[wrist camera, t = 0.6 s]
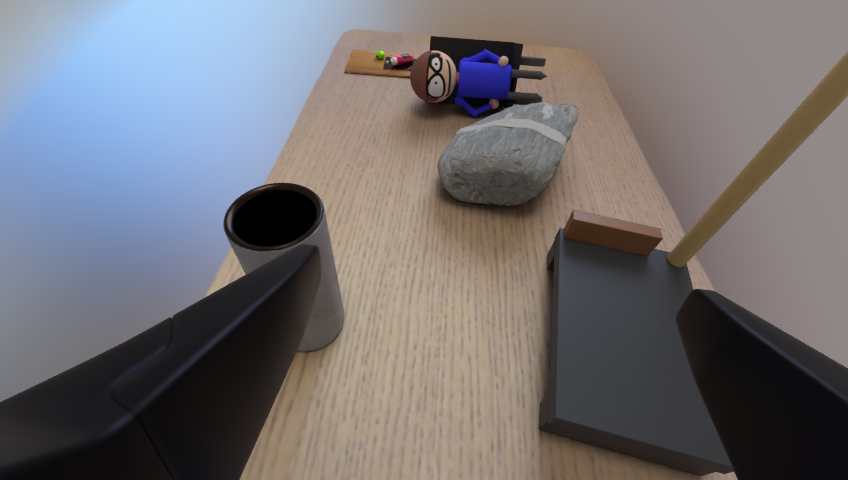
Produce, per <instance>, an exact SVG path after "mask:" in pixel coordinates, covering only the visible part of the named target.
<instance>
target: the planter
mask: <svg viewBox="0 0 848 480" xmlns="http://www.w3.org/2000/svg"><path fill="white" fill-rule="evenodd" d="M224 231H225V233H226V236H227V238H228V240H229V242H230V244H231V246H232V248H233V250H234V252H235V254H236V256H237V258H238V260H239V262H240V264H241V266H242V268H243V270H244V272H245V274H248V273H250V272H252V271H253V270H255V269H257V268H259V267H261V266H262V265H264V264H266V263H268V262H269V261H271V260H273V259H275V258H277V257H278V256H280V255H282V254H284V253H286V252H287V251H289V250H291V249H293V248H294V247H296V246H298V245H300V244H310V245H317V246H318V247H319V250H320V259H321V272H322V274H321V281H320V285H319V288H318V291H317V294H316V298H315V301H314V304H313V307H312V311H311V314H310V317H309V320H308V324H307V327H306V330H305V333H304V336H303V338H302V340H301V343H300V345H299V347H298V350H297V351H301V352H307V351H314V350H317V349H320V348H322V347H324V346H326V345H328V344H329V343H330V342H332V341H333V340H334V339H335V338H336V337H337V335H338V334H339V332H340V331H341V329H342V326H343V322H344V310H343V304H342V299H341V294H340V288H339V283H338V278H337V273H336V267H335V262H334V257H333V252H332V246H331V241H330V236H329V231H328V225H327V220H326V215H325V210H324V206H323V203H322V201H321V199H320V198H319V197H318V195H317V194H315V193H314V192H313V191H312V190H310V189H308V188H306V187H304V186H301V185H297V184H292V183H273V184H267V185H263V186H260V187H257V188H254V189H252V190H250V191H248V192H246V193H245V194H243V195H241V196H240V197H239V198H237V199H236V200H235V201H234V203H232V205H231V206H230V207H229V209H228V210H227V213H226V214H225V218H224Z"/></svg>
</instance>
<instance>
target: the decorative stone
mask: <svg viewBox="0 0 848 480" xmlns="http://www.w3.org/2000/svg"><path fill="white" fill-rule="evenodd" d="M577 118H578V108H577V107H576V106H573V105H566V104H561V105H557V104H553V103H531V104H528V105H515V106H512V107H508V108H506V109H504V110H503V111H501V112H499V113H495V114H493V115H490V116H488V117H486V118H484V119H482V120H480V121H477V122H476V123H474V124H471V125H469V126H467V127H464V128H461V129H460V130H458V131H457V132H456V133H455V135H454V136H453V138H452V141H451V142H450V144H449V145H448V146H447V148H446V149H445V151H444V152H443V153H442V155H441V157H440V159H439V162H438V172H439V174H440V178H441V181H442V183H443V187H444V189H446V190H447V191H448V192H449V194H451V195H452V196H453V197H454V198H455V199H457V200H459V201H464V202H470V203H477V204H479V203H485V204H490V205H491V204H496V205H498V206H510V205H517V204H523V203H525V202H527V201H528V200H530V199H531V198H533V197H536V196H537V195H538V194H539V193H540V192H541V191H542V190H544V189H545V187H546V186H547V185H548V184H549V182H550V180H551V179H552V177H553V174H554V172H555V170H556V168H557V166H558V164H559V163H560V160H561V158H562V155H563V153H564V150H565V146H566V143H567V142H568V140H569V139H570V137H571V133H572V130H573V127H574V125H575V123H576V121H577ZM449 196H450V195H449Z"/></svg>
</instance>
